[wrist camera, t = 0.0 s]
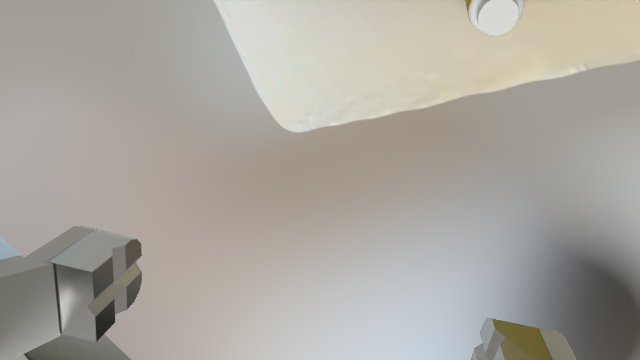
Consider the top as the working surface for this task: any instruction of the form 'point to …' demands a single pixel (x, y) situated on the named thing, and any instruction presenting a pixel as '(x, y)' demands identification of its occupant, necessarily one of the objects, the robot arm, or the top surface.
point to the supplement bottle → (494, 15)
